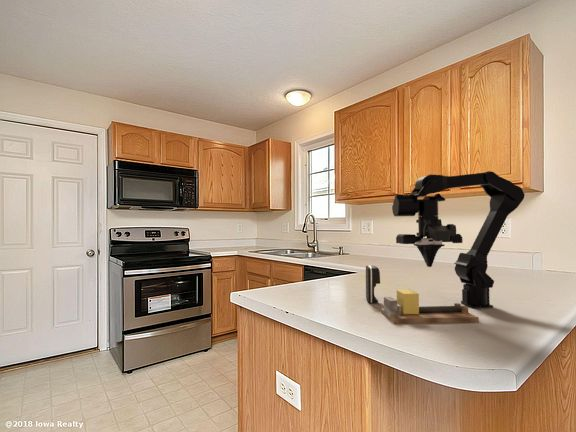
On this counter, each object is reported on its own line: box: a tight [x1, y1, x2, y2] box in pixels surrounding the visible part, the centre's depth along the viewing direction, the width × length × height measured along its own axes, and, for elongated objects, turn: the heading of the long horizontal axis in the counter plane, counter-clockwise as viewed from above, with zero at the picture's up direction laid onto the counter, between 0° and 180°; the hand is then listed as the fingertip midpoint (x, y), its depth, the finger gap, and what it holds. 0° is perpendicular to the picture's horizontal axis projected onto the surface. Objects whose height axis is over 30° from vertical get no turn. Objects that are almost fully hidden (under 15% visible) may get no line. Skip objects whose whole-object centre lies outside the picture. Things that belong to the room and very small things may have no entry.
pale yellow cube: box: [396, 289, 420, 314], centre depth 85 cm, size 4×5×5 cm
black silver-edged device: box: [365, 264, 381, 304], centre depth 103 cm, size 7×4×11 cm, turn 174°
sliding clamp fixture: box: [380, 296, 480, 324], centre depth 85 cm, size 22×10×5 cm, turn 93°
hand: (429, 266), depth 97 cm, fingers closed
